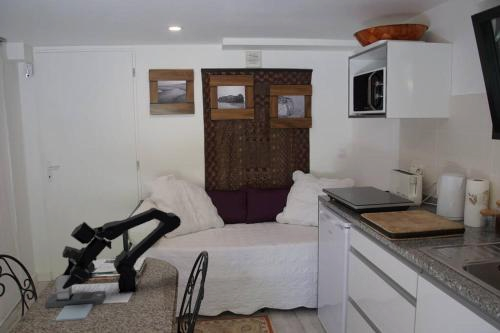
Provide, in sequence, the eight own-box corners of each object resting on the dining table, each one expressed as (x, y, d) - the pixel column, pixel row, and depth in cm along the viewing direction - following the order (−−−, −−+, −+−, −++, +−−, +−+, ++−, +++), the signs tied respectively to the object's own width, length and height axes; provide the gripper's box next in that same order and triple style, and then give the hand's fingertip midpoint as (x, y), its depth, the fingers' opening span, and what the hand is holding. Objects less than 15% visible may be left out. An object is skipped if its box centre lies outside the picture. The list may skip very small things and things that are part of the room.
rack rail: (105, 295, 153) (105, 290, 152) (101, 304, 146) (101, 298, 146) (52, 299, 150) (51, 294, 150) (45, 308, 143) (44, 302, 143)
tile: (93, 305, 145) (92, 303, 145) (85, 319, 135) (85, 317, 135) (64, 307, 144) (64, 305, 143) (55, 321, 134) (55, 319, 134)
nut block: (72, 299, 150) (71, 275, 148) (69, 304, 146) (67, 279, 144) (61, 300, 149) (59, 275, 148) (57, 305, 145) (55, 280, 144)
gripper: (73, 232, 155) (44, 263, 151) (77, 246, 138) (44, 281, 134) (95, 248, 159) (67, 279, 155) (101, 263, 143) (71, 298, 139)
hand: (62, 283), depth 146 cm, fingers open, 9 cm apart
